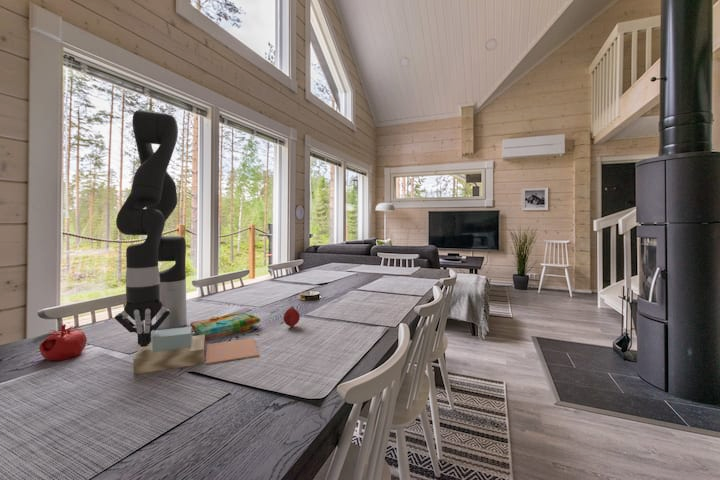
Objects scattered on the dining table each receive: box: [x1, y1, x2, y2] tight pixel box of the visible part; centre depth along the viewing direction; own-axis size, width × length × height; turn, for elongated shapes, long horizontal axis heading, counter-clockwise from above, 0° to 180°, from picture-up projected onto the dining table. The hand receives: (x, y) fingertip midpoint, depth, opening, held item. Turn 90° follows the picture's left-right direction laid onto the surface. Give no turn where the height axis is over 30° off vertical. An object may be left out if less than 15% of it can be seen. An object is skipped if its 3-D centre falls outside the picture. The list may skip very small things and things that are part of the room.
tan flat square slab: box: [205, 337, 260, 366], centre depth 96 cm, size 14×14×1 cm
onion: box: [283, 305, 301, 328], centre depth 117 cm, size 6×6×8 cm
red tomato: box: [38, 324, 88, 362], centre depth 90 cm, size 10×10×9 cm
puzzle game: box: [189, 311, 261, 341], centre depth 113 cm, size 12×5×20 cm
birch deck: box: [132, 334, 206, 375], centre depth 89 cm, size 16×12×4 cm
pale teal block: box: [151, 326, 193, 352], centre depth 89 cm, size 9×6×4 cm, turn 114°
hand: (144, 345), depth 86 cm, fingers closed
